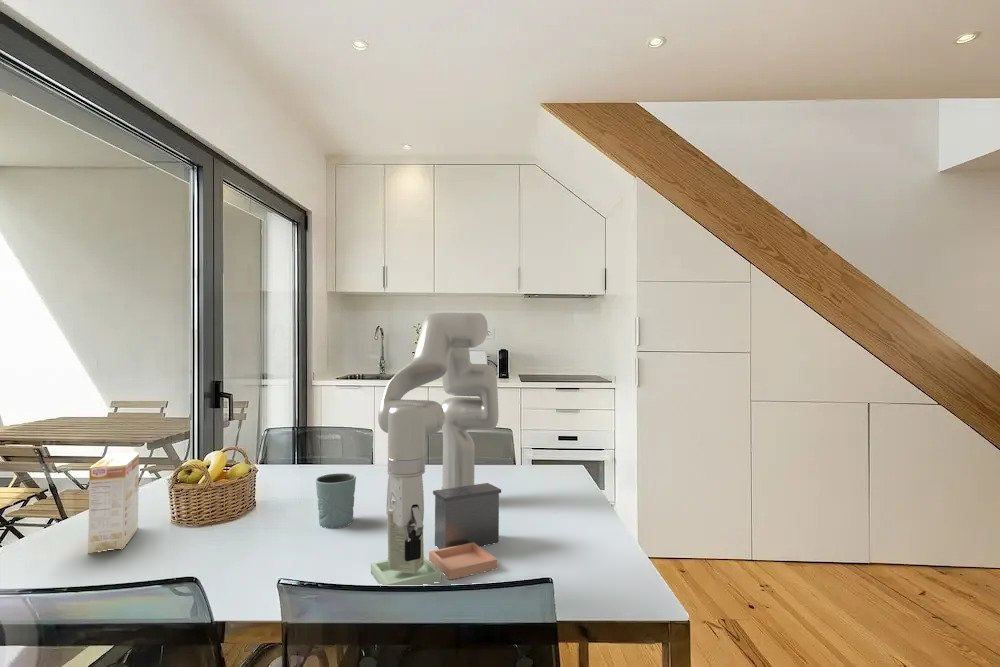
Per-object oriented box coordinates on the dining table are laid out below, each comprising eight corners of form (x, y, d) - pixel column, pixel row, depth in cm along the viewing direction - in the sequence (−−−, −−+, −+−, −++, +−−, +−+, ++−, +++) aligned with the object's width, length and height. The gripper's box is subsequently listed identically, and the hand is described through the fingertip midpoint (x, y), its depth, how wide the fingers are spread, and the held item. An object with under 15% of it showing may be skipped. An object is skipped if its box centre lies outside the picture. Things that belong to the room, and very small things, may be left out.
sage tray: (370, 573, 109) (370, 563, 109) (420, 562, 114) (420, 553, 114) (387, 595, 99) (387, 584, 99) (440, 582, 105) (440, 572, 105)
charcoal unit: (432, 545, 124) (433, 490, 124) (487, 534, 132) (487, 482, 132) (444, 555, 118) (444, 498, 119) (500, 543, 126) (501, 489, 126)
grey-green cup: (363, 520, 141) (363, 475, 142) (336, 532, 132) (337, 484, 132) (334, 514, 146) (334, 471, 146) (306, 526, 137) (307, 479, 137)
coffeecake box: (105, 532, 131) (107, 454, 132) (139, 528, 134) (141, 451, 134) (85, 554, 117) (87, 467, 118) (123, 549, 120) (125, 464, 121)
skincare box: (424, 565, 108) (424, 506, 108) (413, 574, 104) (414, 513, 104) (397, 561, 110) (397, 503, 110) (386, 570, 106) (386, 509, 106)
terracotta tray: (429, 560, 115) (429, 551, 115) (473, 550, 121) (473, 542, 121) (449, 580, 106) (450, 570, 106) (497, 568, 111) (497, 559, 111)
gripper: (375, 459, 113) (375, 541, 113) (403, 477, 98) (402, 573, 98) (409, 455, 117) (408, 535, 117) (440, 472, 102) (439, 564, 101)
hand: (405, 551), depth 107 cm, fingers closed on skincare box, 7 cm apart
